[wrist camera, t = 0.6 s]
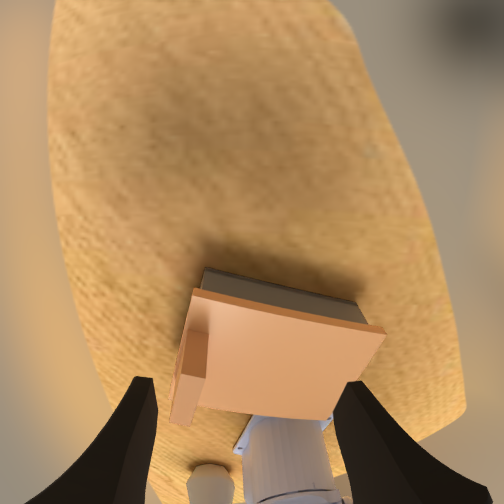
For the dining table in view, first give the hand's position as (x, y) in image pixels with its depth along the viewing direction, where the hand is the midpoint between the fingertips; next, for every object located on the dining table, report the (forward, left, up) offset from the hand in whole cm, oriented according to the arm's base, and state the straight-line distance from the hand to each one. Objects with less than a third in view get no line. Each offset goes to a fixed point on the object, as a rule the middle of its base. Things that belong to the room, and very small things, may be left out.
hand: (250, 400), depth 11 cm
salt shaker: (-29, -4, -11) cm, 31 cm away
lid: (-5, -3, -7) cm, 9 cm away
